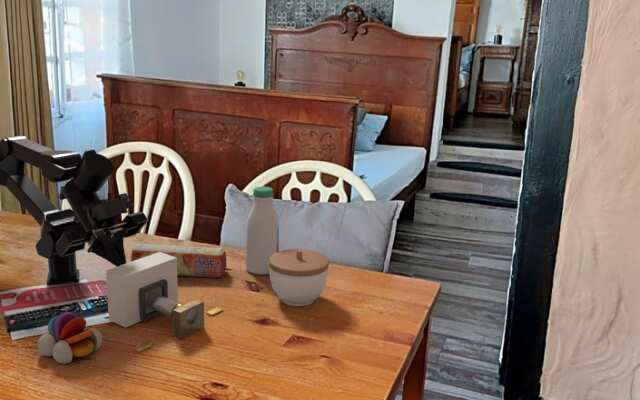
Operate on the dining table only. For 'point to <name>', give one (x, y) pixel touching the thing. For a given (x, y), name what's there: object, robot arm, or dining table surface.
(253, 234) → the milk bottle
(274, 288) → the lidded bowl
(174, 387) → the dining table surface
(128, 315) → the sleeve
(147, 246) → the snack package
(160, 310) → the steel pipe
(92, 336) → the rainbow petal fan
